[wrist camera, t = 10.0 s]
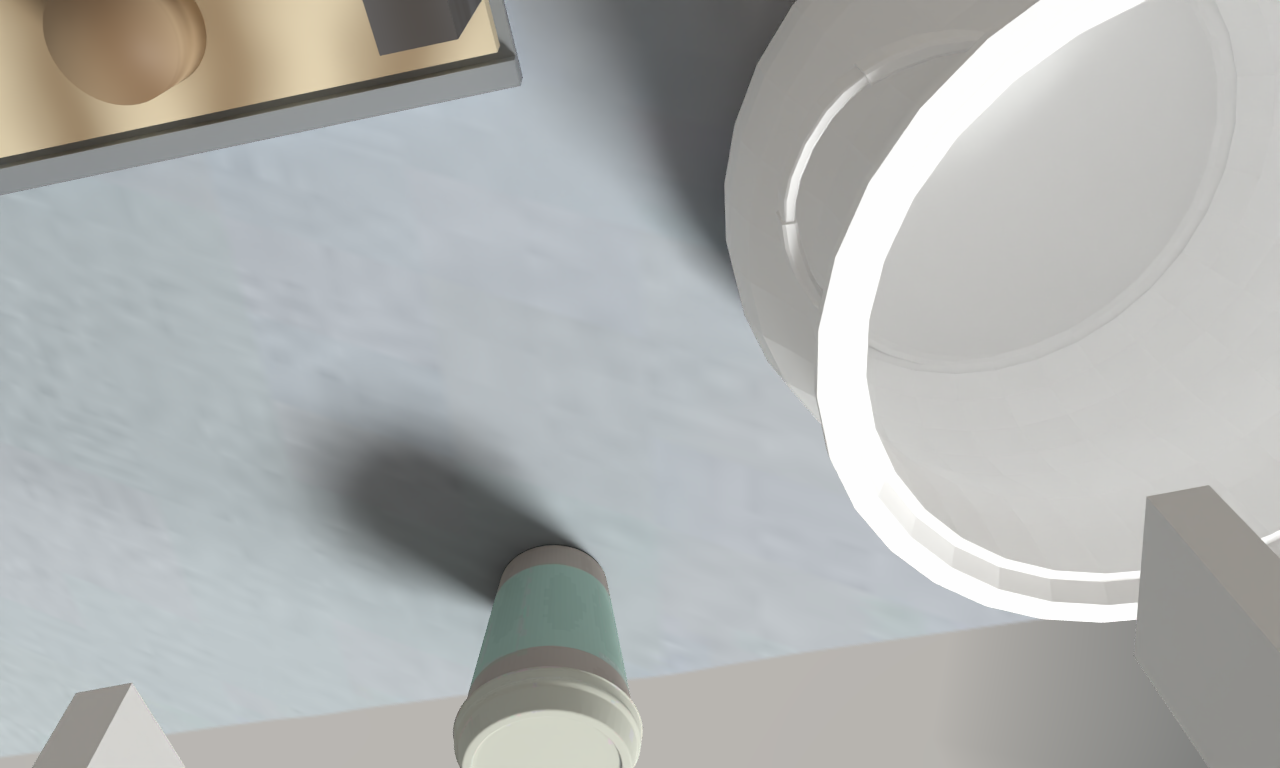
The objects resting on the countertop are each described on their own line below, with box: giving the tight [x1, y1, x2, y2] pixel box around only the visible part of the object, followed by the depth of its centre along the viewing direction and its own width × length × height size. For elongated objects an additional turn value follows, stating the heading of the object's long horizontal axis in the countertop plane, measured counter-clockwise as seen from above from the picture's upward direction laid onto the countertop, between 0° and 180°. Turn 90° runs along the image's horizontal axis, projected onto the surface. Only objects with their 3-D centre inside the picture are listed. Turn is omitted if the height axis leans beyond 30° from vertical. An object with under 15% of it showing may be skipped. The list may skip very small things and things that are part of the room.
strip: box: [0, 0, 500, 158], centre depth 33 cm, size 21×7×10 cm, turn 101°
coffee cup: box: [453, 545, 643, 768], centre depth 48 cm, size 8×8×12 cm
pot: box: [724, 0, 1280, 622], centre depth 35 cm, size 26×24×17 cm
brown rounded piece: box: [43, 0, 207, 105], centre depth 35 cm, size 4×4×3 cm
